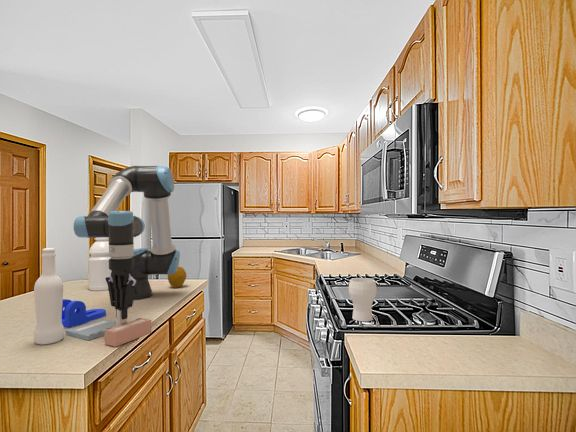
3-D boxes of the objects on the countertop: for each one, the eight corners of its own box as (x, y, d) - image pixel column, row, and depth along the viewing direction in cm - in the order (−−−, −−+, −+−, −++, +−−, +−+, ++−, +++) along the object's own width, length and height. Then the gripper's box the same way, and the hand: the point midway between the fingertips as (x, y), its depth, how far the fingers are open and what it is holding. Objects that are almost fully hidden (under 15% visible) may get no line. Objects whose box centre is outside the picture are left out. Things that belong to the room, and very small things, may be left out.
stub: (140, 330, 126) (140, 317, 126) (151, 332, 123) (151, 319, 123) (104, 344, 113) (104, 329, 113) (115, 346, 111) (115, 331, 111)
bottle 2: (121, 288, 196) (121, 236, 195) (94, 292, 185) (93, 238, 185) (110, 284, 205) (110, 235, 204) (84, 288, 194) (83, 236, 194)
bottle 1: (41, 347, 111) (40, 250, 111) (29, 342, 115) (28, 248, 115) (69, 339, 118) (68, 247, 117) (56, 334, 122) (55, 246, 122)
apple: (188, 285, 203) (187, 264, 202) (183, 289, 193) (183, 267, 193) (170, 285, 202) (170, 264, 202) (165, 289, 193) (165, 267, 192)
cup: (345, 315, 145) (345, 277, 145) (371, 314, 146) (371, 277, 146) (352, 323, 134) (352, 283, 134) (380, 322, 135) (380, 282, 135)
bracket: (68, 328, 129) (68, 303, 129) (52, 325, 132) (52, 301, 132) (110, 315, 146) (110, 292, 146) (95, 312, 149) (95, 291, 149)
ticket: (103, 323, 135) (103, 318, 135) (125, 328, 129) (125, 323, 129) (65, 334, 122) (65, 330, 122) (88, 340, 117) (88, 335, 117)
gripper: (98, 257, 119) (98, 328, 119) (125, 260, 113) (125, 334, 113) (117, 255, 126) (118, 322, 126) (144, 257, 120) (144, 327, 120)
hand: (121, 328), depth 120 cm, fingers closed
